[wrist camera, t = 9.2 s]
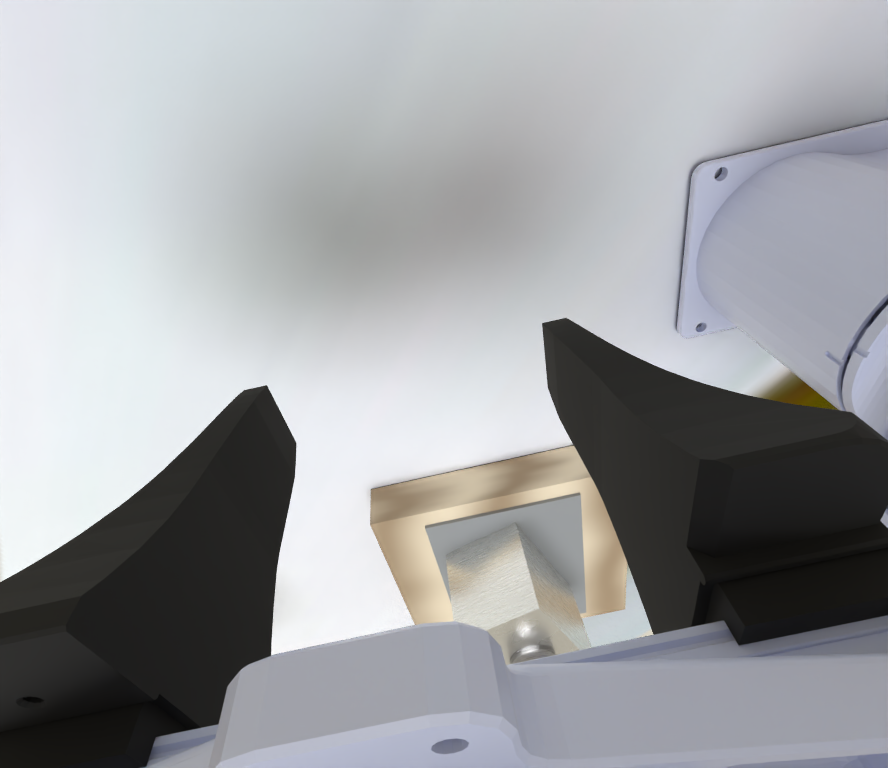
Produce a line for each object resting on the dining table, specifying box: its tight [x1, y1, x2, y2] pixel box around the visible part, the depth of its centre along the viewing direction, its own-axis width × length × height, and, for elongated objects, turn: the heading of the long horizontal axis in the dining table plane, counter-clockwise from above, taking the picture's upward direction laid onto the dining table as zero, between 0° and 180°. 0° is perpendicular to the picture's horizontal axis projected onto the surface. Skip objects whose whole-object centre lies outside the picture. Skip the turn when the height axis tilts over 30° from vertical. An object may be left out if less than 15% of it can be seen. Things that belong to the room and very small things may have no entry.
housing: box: [445, 522, 592, 665], centre depth 27 cm, size 4×8×6 cm, turn 32°
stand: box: [370, 445, 627, 625], centre depth 31 cm, size 14×14×3 cm
